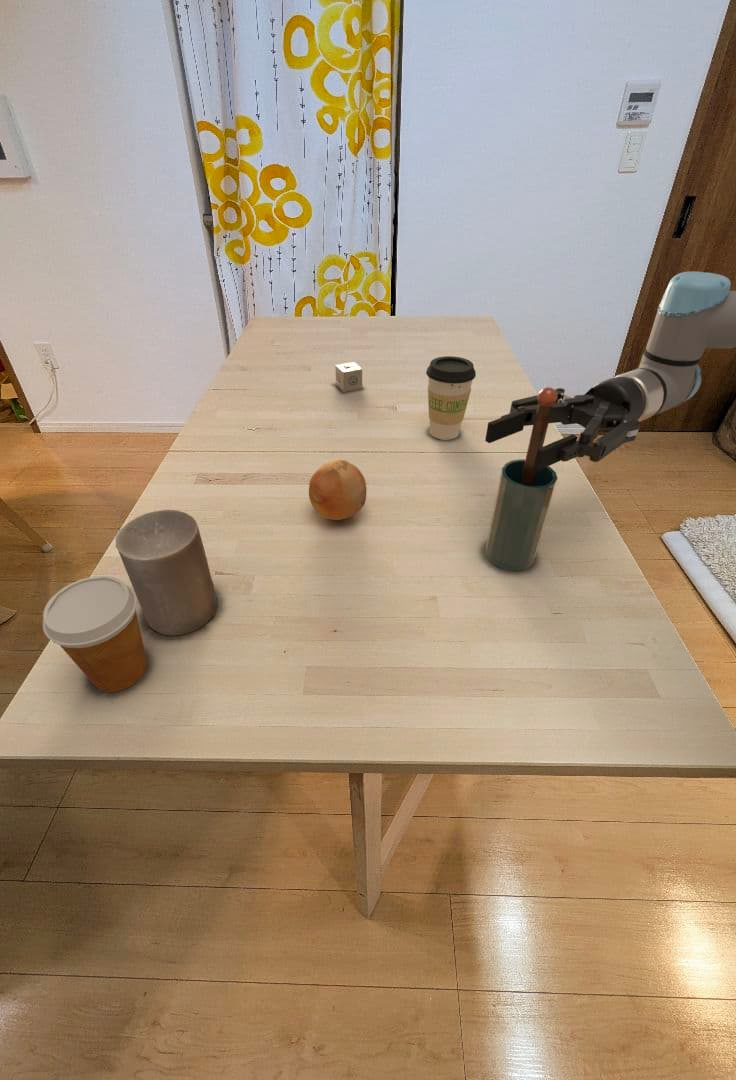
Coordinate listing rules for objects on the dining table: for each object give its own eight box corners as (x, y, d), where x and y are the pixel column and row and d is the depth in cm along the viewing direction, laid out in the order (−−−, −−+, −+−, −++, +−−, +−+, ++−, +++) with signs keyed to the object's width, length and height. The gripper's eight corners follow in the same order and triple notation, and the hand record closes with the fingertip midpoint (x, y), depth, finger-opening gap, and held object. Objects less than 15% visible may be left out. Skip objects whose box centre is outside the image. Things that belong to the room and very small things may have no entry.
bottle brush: (530, 557, 79) (575, 394, 62) (503, 561, 78) (541, 397, 61) (518, 539, 82) (557, 379, 65) (491, 542, 81) (525, 382, 65)
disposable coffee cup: (125, 629, 69) (96, 562, 61) (176, 659, 65) (152, 592, 57) (60, 681, 62) (18, 614, 55) (113, 718, 59) (75, 651, 51)
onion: (320, 494, 93) (317, 444, 87) (373, 502, 91) (374, 452, 85) (301, 525, 86) (296, 474, 80) (358, 535, 84) (358, 484, 78)
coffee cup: (422, 443, 108) (428, 373, 98) (420, 421, 115) (425, 354, 106) (469, 444, 108) (480, 374, 98) (464, 422, 115) (473, 355, 106)
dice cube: (336, 384, 131) (335, 365, 128) (354, 381, 132) (353, 362, 129) (343, 392, 127) (343, 372, 124) (362, 388, 129) (362, 369, 126)
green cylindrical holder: (543, 558, 80) (568, 475, 71) (512, 578, 77) (533, 494, 67) (506, 534, 85) (525, 453, 75) (475, 552, 81) (490, 470, 72)
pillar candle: (220, 582, 76) (200, 497, 66) (215, 633, 68) (191, 546, 59) (151, 588, 75) (120, 503, 65) (138, 641, 67) (101, 554, 58)
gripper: (677, 454, 71) (570, 509, 61) (558, 401, 84) (454, 439, 74) (700, 403, 67) (588, 453, 57) (570, 355, 80) (460, 389, 69)
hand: (512, 445), depth 65 cm, fingers open, 8 cm apart
